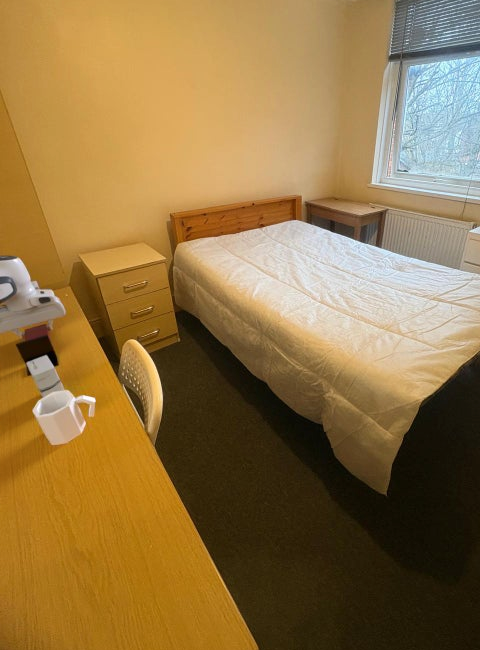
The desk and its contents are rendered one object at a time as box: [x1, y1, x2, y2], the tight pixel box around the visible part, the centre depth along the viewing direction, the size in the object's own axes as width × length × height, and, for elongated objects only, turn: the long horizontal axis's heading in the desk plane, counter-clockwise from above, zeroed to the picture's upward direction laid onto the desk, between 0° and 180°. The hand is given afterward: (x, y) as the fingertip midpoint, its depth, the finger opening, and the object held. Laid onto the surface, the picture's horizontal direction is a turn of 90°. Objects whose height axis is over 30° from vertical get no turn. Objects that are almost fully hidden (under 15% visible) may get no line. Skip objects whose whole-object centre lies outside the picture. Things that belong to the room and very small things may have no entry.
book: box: [23, 323, 52, 342], centre depth 112 cm, size 16×6×3 cm, turn 39°
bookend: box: [15, 335, 60, 377], centre depth 100 cm, size 6×8×9 cm
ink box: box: [25, 355, 65, 398], centre depth 88 cm, size 9×5×12 cm, turn 48°
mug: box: [31, 389, 96, 446], centre depth 80 cm, size 12×9×10 cm
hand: (37, 333), depth 115 cm, fingers closed on book, 6 cm apart
